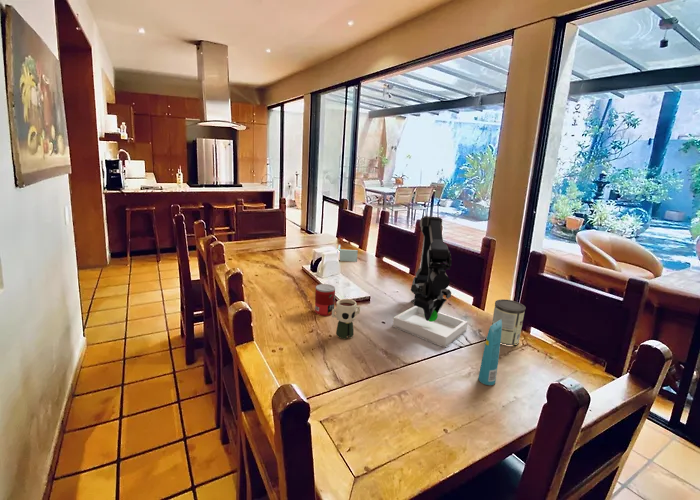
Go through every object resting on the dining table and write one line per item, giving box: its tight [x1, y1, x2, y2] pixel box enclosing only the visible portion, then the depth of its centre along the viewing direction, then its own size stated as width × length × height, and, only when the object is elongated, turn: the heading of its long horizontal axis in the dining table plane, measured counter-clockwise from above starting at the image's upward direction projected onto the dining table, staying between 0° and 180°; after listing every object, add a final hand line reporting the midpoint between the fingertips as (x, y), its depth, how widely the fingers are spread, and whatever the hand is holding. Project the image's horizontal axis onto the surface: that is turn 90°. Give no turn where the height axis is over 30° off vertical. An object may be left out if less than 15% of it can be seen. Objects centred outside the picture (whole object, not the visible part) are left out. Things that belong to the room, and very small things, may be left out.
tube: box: [477, 320, 502, 386], centre depth 109 cm, size 7×5×19 cm, turn 140°
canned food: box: [314, 283, 336, 317], centre depth 151 cm, size 8×8×11 cm
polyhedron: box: [424, 310, 438, 322], centre depth 141 cm, size 5×5×5 cm
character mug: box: [331, 298, 361, 340], centre depth 132 cm, size 11×7×13 cm, turn 115°
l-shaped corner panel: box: [337, 244, 359, 263], centre depth 229 cm, size 12×12×8 cm
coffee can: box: [491, 298, 526, 345], centre depth 136 cm, size 10×10×14 cm
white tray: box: [392, 305, 468, 349], centre depth 142 cm, size 18×22×4 cm
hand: (430, 318), depth 142 cm, fingers closed on polyhedron, 5 cm apart
